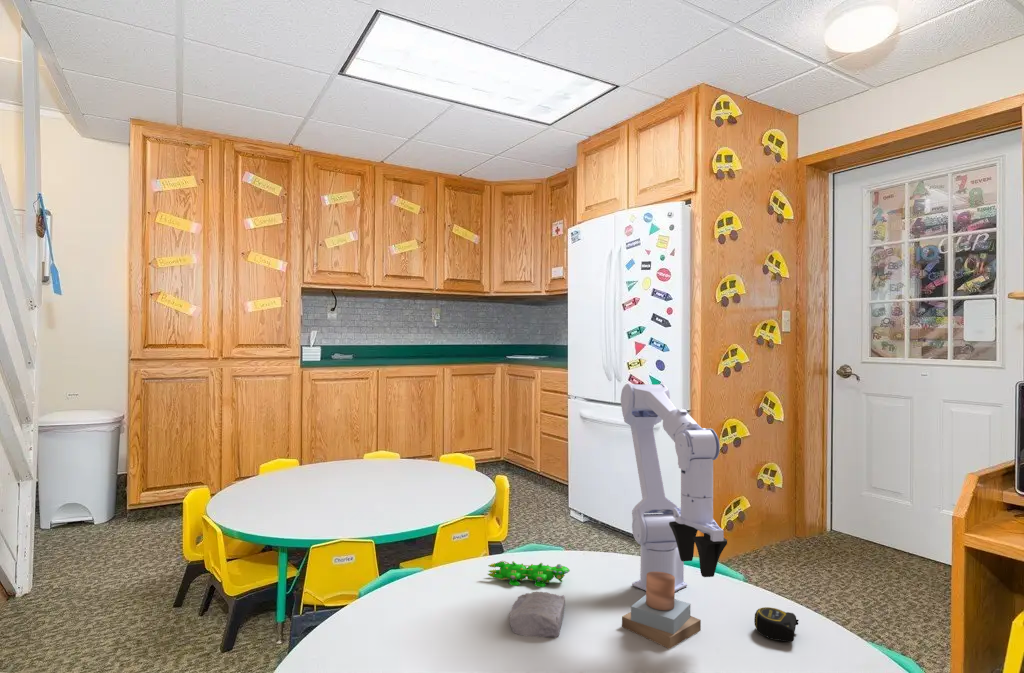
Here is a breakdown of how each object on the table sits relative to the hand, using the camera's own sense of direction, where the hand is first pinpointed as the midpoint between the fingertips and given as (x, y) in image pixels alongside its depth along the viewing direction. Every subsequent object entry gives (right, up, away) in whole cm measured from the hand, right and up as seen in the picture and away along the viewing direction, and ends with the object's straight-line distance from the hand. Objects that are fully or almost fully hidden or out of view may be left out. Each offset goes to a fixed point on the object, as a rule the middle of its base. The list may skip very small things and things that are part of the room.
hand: (696, 568), depth 103 cm
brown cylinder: (-7, -6, -2) cm, 10 cm away
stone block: (-30, -11, +1) cm, 31 cm away
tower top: (-7, -8, -2) cm, 11 cm away
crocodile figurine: (-31, -11, +19) cm, 38 cm away
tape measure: (+14, -11, -4) cm, 18 cm away
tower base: (-7, -11, -2) cm, 13 cm away
